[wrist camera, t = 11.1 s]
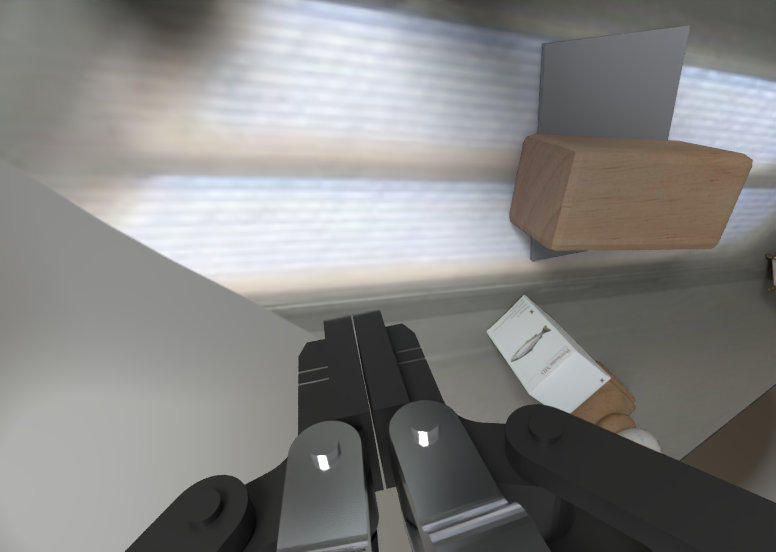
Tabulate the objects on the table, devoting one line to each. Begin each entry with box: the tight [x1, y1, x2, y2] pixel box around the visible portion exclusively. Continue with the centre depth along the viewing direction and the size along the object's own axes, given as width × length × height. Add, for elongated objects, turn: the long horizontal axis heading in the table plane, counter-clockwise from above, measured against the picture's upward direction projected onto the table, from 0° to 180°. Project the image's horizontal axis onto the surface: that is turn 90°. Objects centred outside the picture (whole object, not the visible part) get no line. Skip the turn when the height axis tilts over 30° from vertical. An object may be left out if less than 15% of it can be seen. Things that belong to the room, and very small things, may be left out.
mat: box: [530, 26, 690, 261], centre depth 48 cm, size 24×16×1 cm, turn 6°
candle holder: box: [571, 362, 662, 453], centre depth 57 cm, size 11×11×24 cm
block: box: [509, 134, 752, 251], centre depth 45 cm, size 10×10×20 cm
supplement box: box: [487, 295, 611, 414], centre depth 52 cm, size 7×7×13 cm
